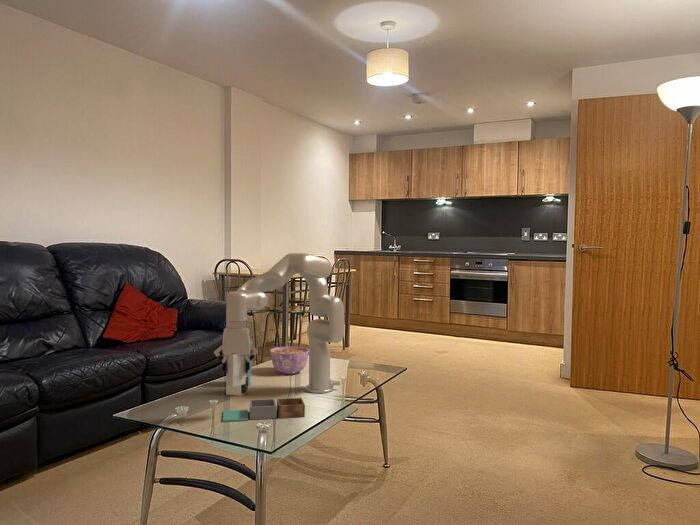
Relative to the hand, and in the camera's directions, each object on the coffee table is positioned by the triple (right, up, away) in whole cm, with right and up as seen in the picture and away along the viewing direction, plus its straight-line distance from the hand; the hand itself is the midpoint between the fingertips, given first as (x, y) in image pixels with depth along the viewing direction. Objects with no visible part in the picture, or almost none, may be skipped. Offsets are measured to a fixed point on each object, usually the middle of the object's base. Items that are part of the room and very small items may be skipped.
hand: (236, 372), depth 194 cm
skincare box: (0, -5, 0) cm, 5 cm away
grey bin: (+10, -17, +2) cm, 19 cm away
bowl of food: (+12, -15, +71) cm, 74 cm away
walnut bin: (+20, -17, +5) cm, 26 cm away
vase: (-8, -16, +47) cm, 50 cm away
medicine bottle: (-6, -16, +32) cm, 36 cm away
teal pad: (0, -16, 0) cm, 16 cm away
